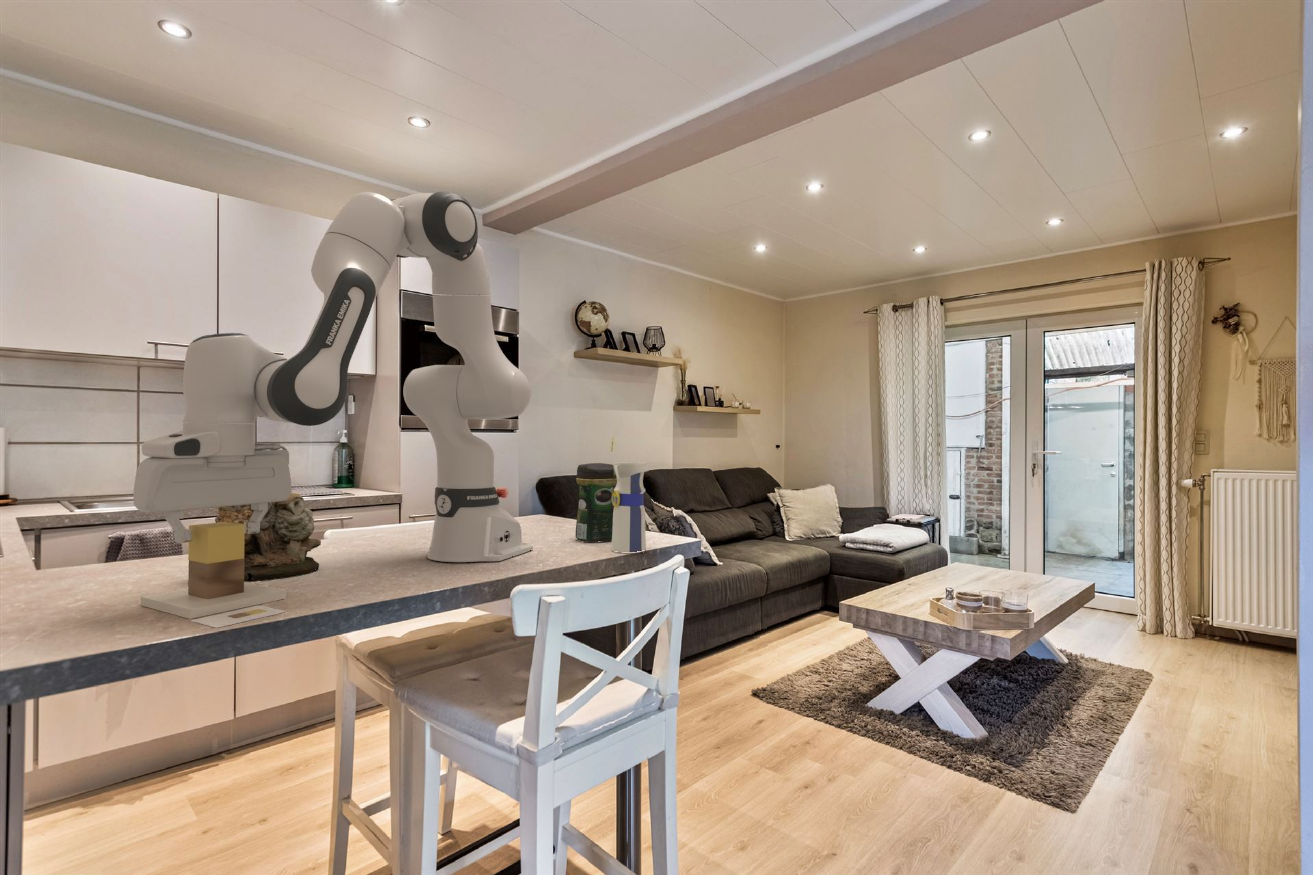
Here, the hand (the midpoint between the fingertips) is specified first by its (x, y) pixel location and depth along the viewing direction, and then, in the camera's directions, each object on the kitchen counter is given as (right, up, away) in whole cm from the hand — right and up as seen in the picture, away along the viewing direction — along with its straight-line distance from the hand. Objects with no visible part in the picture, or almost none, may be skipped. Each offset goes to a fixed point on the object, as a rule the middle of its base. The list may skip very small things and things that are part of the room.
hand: (219, 537), depth 96 cm
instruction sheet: (+8, -9, -8) cm, 15 cm away
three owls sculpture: (-5, -9, +18) cm, 21 cm away
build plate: (0, -9, -1) cm, 9 cm away
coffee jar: (+50, -10, +62) cm, 80 cm away
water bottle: (+58, -10, +48) cm, 76 cm away
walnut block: (0, -8, -1) cm, 8 cm away
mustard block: (0, -3, -1) cm, 3 cm away
